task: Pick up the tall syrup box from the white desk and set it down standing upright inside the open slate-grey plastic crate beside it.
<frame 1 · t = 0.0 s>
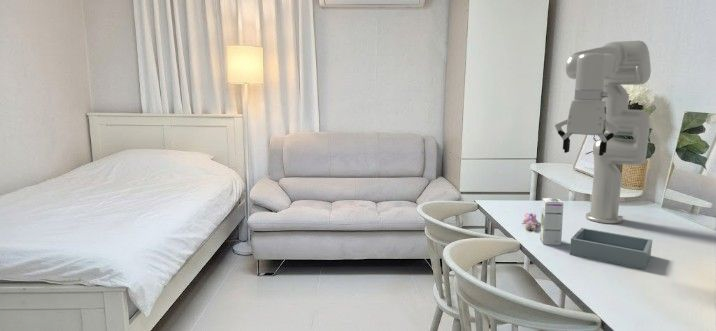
hand: (583, 153, 140), 31 cm above the table, tool pointing down, fingers open, 9 cm apart
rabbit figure: (530, 226, 173), on the table
syrup box: (550, 242, 155), on the table
crate: (610, 254, 144), on the table
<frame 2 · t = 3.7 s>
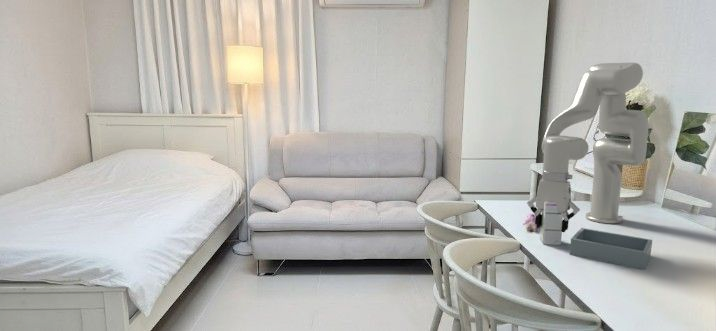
hand: (551, 228, 154), 5 cm above the table, tool pointing down, fingers closed on syrup box, 7 cm apart
syrup box: (550, 242, 155), on the table, touching gripper
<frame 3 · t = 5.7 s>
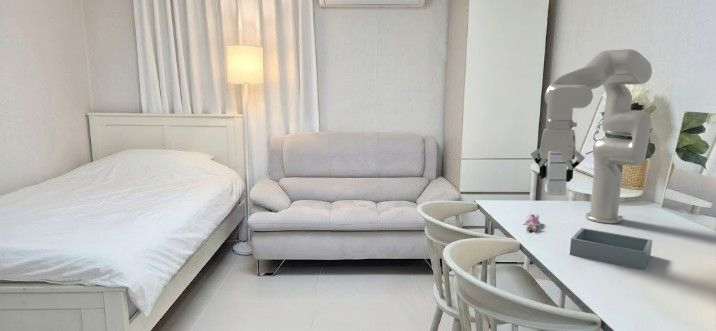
hand: (555, 179, 152), 21 cm above the table, tool pointing down, fingers closed on syrup box, 7 cm apart
syrup box: (554, 193, 153), point 16 cm above the table, touching gripper
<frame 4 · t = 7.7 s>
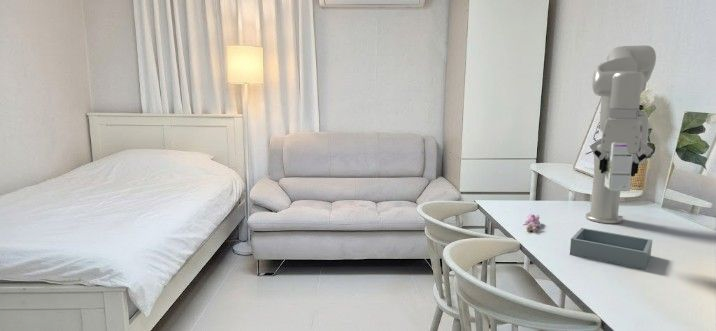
hand: (617, 173, 139), 25 cm above the table, tool pointing down, fingers closed on syrup box, 7 cm apart
syrup box: (616, 189, 140), point 21 cm above the table, touching gripper
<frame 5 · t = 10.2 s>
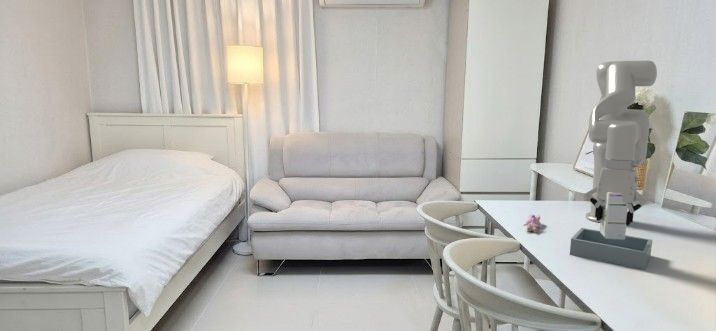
hand: (613, 221, 142), 11 cm above the table, tool pointing down, fingers closed on syrup box, 7 cm apart
syrup box: (611, 237, 143), point 6 cm above the table, touching gripper
when the fingers open (7 cm above the table, at t = 12.1 s): syrup box drops 1 cm, resting on crate.
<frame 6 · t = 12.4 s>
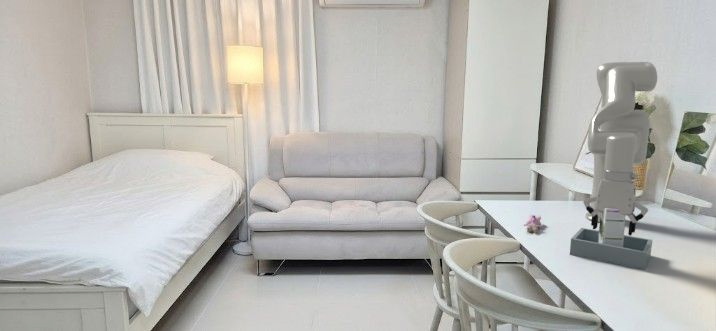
hand: (612, 231, 142), 8 cm above the table, tool pointing down, fingers open, 9 cm apart
syrup box: (609, 252, 144), point 1 cm above the table, touching crate
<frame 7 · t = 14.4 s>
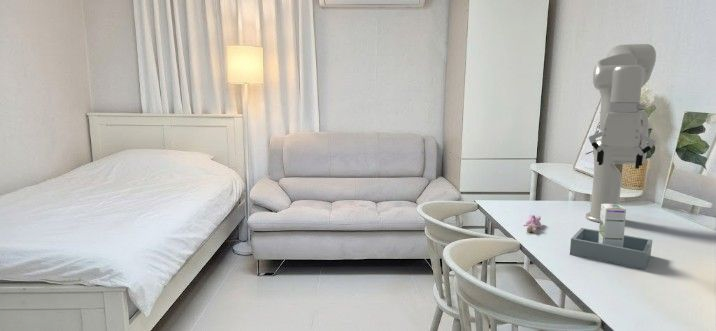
hand: (618, 166, 139), 28 cm above the table, tool pointing down, fingers open, 9 cm apart
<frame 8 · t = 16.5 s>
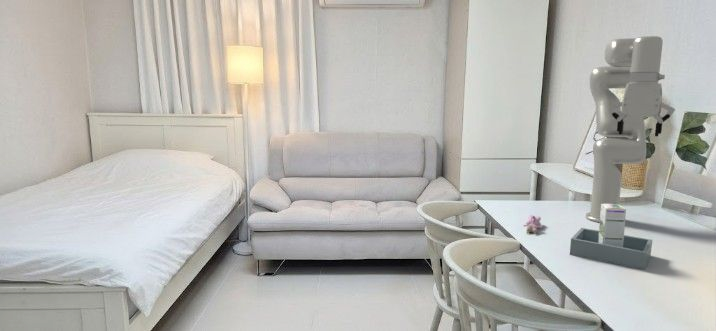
hand: (638, 135, 144), 36 cm above the table, tool pointing down, fingers open, 9 cm apart
at the end: syrup box inside the target area on the crate (0.3 cm from its centre), point 0.8 cm above the crate's base; syrup box tilted 0°; the gripper is holding nothing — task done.
